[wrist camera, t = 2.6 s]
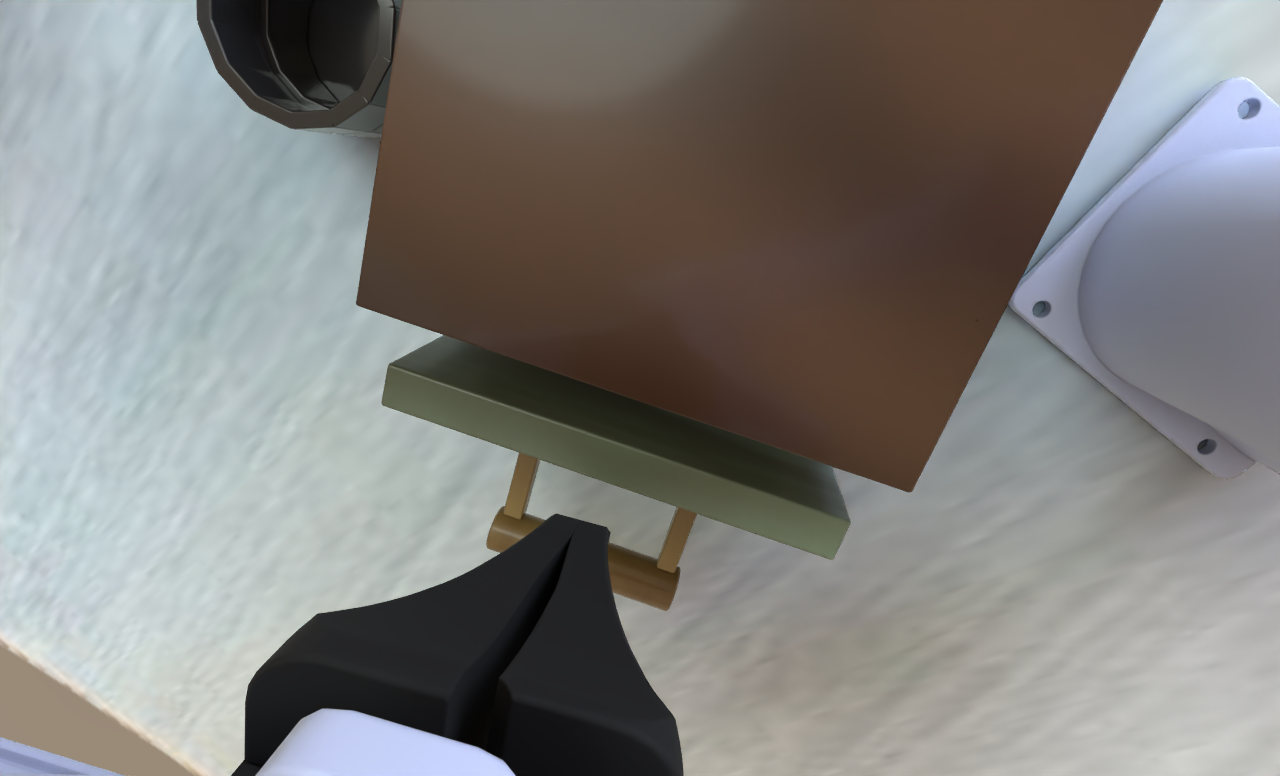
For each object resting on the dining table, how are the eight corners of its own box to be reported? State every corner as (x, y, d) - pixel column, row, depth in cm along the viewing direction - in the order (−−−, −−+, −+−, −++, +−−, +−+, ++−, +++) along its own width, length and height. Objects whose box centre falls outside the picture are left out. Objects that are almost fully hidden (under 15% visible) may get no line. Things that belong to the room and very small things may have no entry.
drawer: (757, 575, 23) (764, 705, 18) (446, 467, 24) (352, 559, 18) (975, 75, 18) (1094, 23, 12) (561, -54, 18) (478, -165, 12)
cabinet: (851, 387, 22) (912, 494, 14) (481, 264, 22) (354, 305, 15) (1049, -58, 17) (1288, -240, 10) (581, -200, 18) (471, -474, 10)
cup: (493, 22, 20) (433, -18, 16) (406, 174, 22) (333, 172, 18) (346, -97, 19) (247, -168, 15) (271, 69, 21) (164, 43, 17)
